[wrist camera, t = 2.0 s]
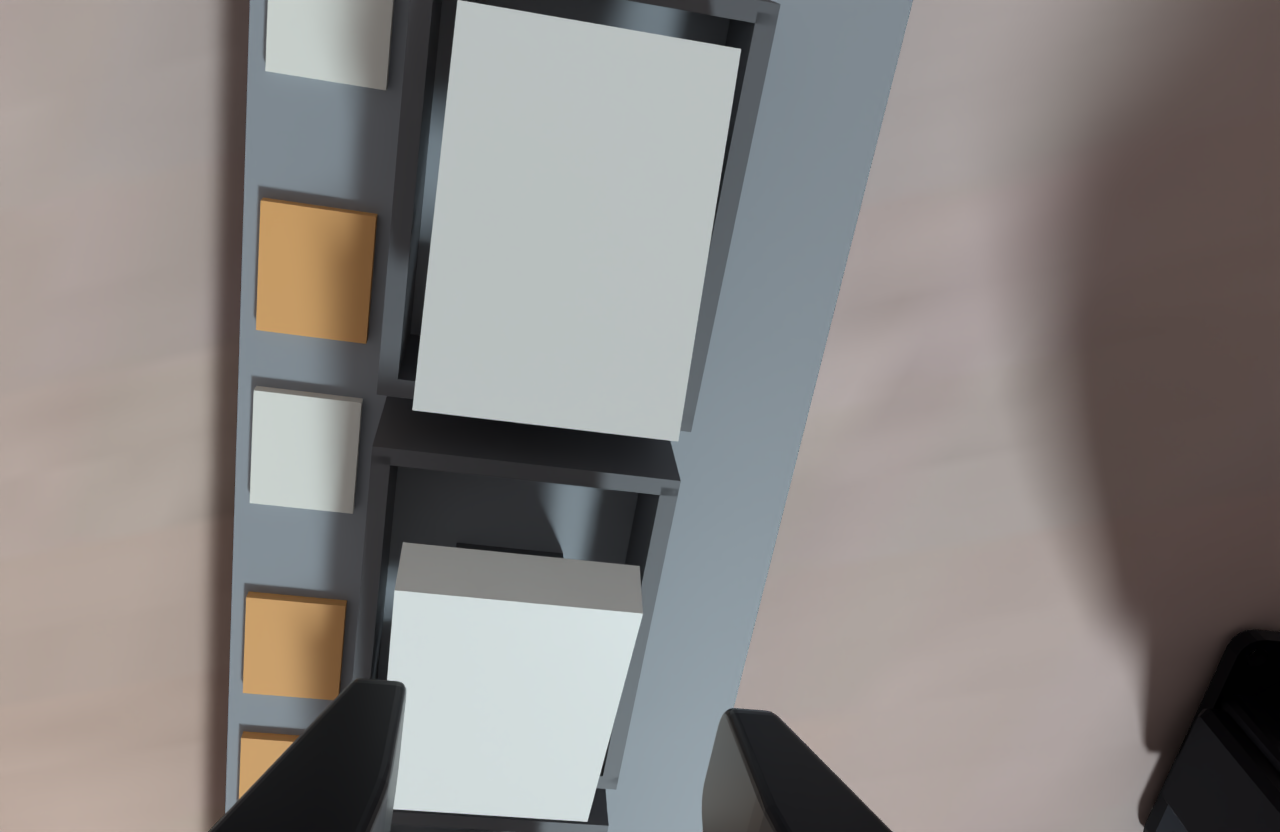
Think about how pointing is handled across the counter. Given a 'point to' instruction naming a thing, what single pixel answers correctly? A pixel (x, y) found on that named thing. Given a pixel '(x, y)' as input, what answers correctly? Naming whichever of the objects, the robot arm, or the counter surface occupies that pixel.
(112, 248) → the counter surface
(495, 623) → the middle rocker
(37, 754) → the counter surface
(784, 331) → the switch panel
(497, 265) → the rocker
